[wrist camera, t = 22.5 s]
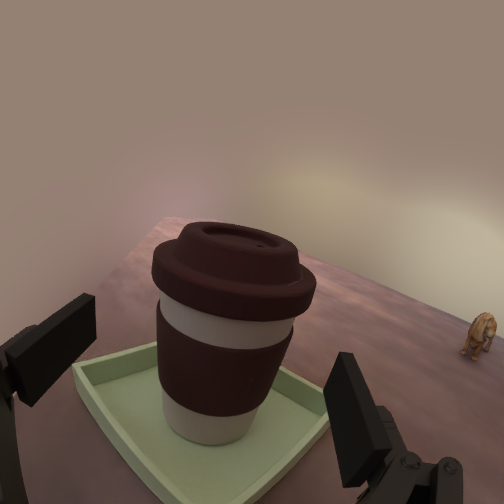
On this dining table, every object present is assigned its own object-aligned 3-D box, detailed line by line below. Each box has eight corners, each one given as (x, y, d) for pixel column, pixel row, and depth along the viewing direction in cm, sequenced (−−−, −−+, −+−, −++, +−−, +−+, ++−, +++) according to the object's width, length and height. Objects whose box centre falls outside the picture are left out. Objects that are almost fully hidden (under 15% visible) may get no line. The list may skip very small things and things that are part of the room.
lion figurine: (476, 371, 33) (500, 321, 31) (453, 357, 37) (475, 308, 35) (490, 348, 41) (507, 308, 39) (471, 338, 45) (487, 299, 43)
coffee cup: (121, 410, 19) (121, 218, 15) (195, 364, 27) (219, 213, 24) (227, 484, 14) (289, 278, 11) (285, 409, 23) (338, 248, 20)
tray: (76, 390, 19) (71, 363, 19) (208, 346, 32) (212, 323, 31) (205, 540, 10) (210, 527, 9) (332, 423, 23) (344, 399, 22)
